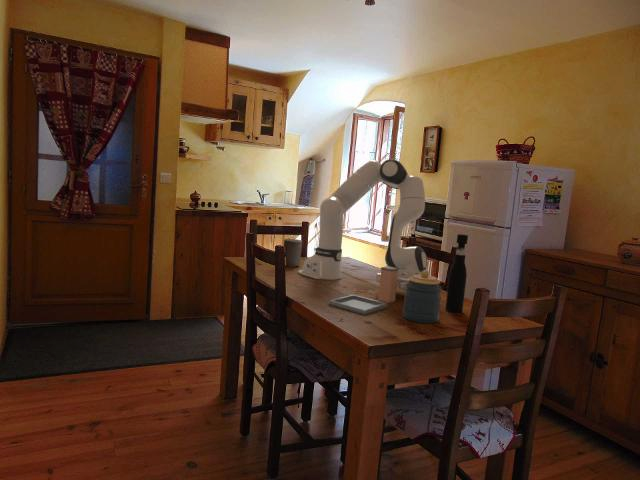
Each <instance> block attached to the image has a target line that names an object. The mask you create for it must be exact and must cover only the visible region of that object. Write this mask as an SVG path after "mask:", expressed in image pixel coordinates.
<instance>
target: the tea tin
mask: <svg viewBox="0 0 640 480" xmlns="http://www.w3.org/2000/svg"><path fill="white" fill-rule="evenodd" d="M398 270H399V268H395V267H390V266H388V265H385V266H380V273H381V276H380V283H379V289H378V298H377V299H378V300H377V301H381V302H384V303H387V304H389V303H392V302H395V301H396V295H397V287H398V286H397V277H398Z"/></svg>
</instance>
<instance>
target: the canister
mask: <svg viewBox="0 0 640 480" xmlns="http://www.w3.org/2000/svg"><path fill="white" fill-rule="evenodd" d="M428 272H429V270H428V271H426V270H424V271H422V273H421V274H415V275H413V276H411V277H409V278H408V279H409V282H408V283H406V284H405V285H406V287H407V289H406V290H405V292H404V293H403V294H404V301H403V308H402V317H403V318H404V319H406V320H408V321H411V322H415V323H422V324H433V323H437V322H438V321H439V318H440V307H441V300H442V297H441V291H443V287H442V286H440V284H441V281H440V280H439V279H438V277H435V276H433V275H430V273H428Z"/></svg>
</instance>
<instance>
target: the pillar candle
mask: <svg viewBox="0 0 640 480" xmlns="http://www.w3.org/2000/svg"><path fill="white" fill-rule="evenodd" d="M302 245H303V240H300V239H295V238H284V239H283V247H285V251H286V266H285V267H287V266H290V268H296V267H295V266H299V267H301V258H302V257H301V255H302V248H303V247H302Z"/></svg>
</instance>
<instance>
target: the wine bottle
mask: <svg viewBox="0 0 640 480" xmlns="http://www.w3.org/2000/svg"><path fill="white" fill-rule="evenodd" d="M468 238H469V235H467V234H463V233H462V234H460V233H459V234H457V236H456V244H457V249H456V252H455V254H454V255H455V256H454V262H453V263H452V265H451V268H450V272H449V275H448V284H447V292H446V293H447V294H446V300H445V311H446V312H449V313H453V314H462V313H463V309H464V301H465V293H466V284H467V268H466V267H467V266H466V262H465V261H466V250H465V247H466V245H467V244H468Z"/></svg>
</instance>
